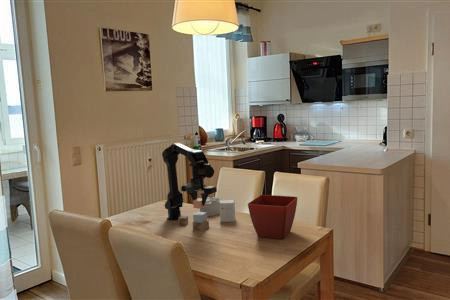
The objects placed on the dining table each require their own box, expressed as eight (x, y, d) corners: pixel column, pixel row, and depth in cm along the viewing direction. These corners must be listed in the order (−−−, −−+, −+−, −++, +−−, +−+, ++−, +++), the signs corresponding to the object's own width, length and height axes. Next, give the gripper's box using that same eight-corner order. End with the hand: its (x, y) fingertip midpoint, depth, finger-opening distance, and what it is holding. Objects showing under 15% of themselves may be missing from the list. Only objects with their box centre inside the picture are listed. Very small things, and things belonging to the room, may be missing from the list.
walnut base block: (193, 229, 204) (192, 222, 203) (199, 226, 209) (199, 218, 208) (202, 231, 201) (202, 223, 200) (209, 227, 206) (208, 220, 205)
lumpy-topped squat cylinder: (198, 212, 233) (197, 198, 232) (217, 208, 239) (216, 194, 238) (206, 216, 224) (205, 202, 223) (226, 212, 230) (225, 198, 229)
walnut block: (178, 225, 212) (178, 218, 211) (181, 222, 215) (180, 215, 215) (186, 225, 211) (185, 218, 210) (188, 223, 215) (187, 215, 214)
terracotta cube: (193, 207, 202) (193, 200, 202) (198, 205, 206) (198, 198, 206) (200, 208, 200) (200, 201, 199) (205, 206, 204) (205, 199, 203)
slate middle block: (193, 221, 204) (193, 214, 203) (198, 219, 208) (198, 211, 207) (201, 223, 201) (201, 215, 200) (206, 220, 205) (206, 212, 205)
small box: (235, 218, 218) (234, 199, 217) (234, 221, 213) (234, 202, 211) (221, 218, 219) (220, 200, 218) (220, 221, 214) (219, 203, 212)
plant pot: (262, 225, 203) (261, 194, 201) (298, 229, 195) (298, 196, 193) (248, 238, 186) (246, 203, 184) (287, 243, 178) (286, 206, 176)
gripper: (173, 177, 199) (175, 207, 201) (203, 179, 189) (205, 211, 191) (186, 173, 208) (188, 201, 210) (216, 175, 199) (218, 205, 201)
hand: (199, 205), depth 203 cm, fingers closed on terracotta cube, 4 cm apart
